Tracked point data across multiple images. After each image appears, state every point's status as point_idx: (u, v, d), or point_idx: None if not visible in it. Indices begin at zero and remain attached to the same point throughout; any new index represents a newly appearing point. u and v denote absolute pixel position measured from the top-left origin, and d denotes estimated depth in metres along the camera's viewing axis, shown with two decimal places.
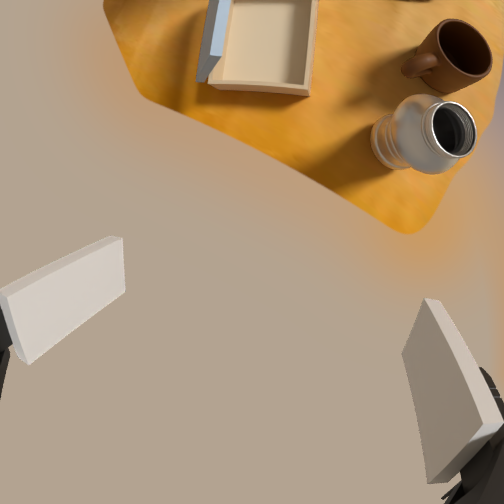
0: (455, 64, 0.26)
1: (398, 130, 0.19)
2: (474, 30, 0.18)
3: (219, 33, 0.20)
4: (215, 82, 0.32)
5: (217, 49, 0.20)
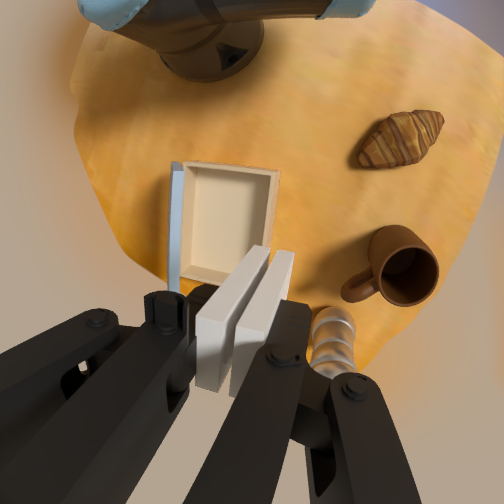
0: None
1: None
2: (428, 252, 0.28)
3: None
4: (183, 276, 0.42)
5: None
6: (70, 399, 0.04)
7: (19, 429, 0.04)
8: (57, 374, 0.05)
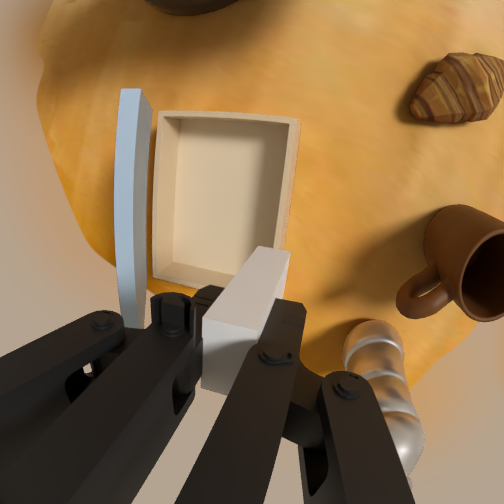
0: None
1: None
2: None
3: None
4: (161, 277, 0.29)
5: None
6: (75, 401, 0.04)
7: (22, 431, 0.04)
8: (61, 377, 0.05)
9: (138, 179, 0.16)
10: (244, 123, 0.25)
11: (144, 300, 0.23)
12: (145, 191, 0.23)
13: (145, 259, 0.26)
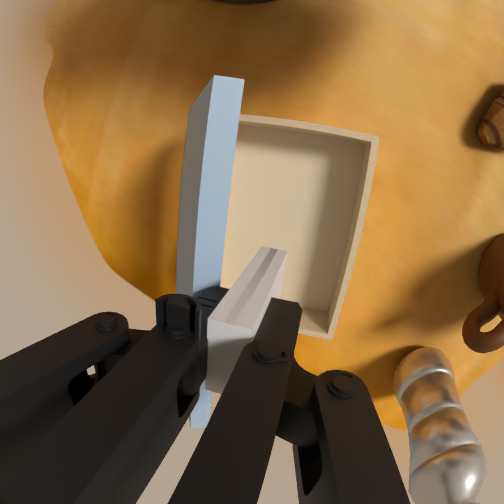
0: None
1: (415, 494, 0.13)
2: None
3: (201, 403, 0.13)
4: None
5: (201, 421, 0.14)
6: (79, 403, 0.04)
7: (25, 434, 0.04)
8: (64, 379, 0.05)
9: None
10: (307, 135, 0.22)
11: None
12: None
13: None
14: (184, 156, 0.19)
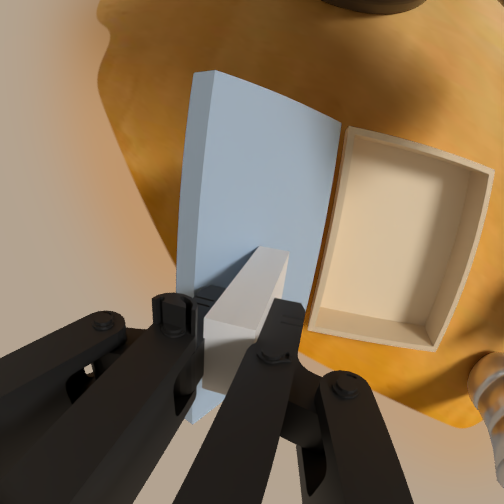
0: None
1: None
2: None
3: None
4: (319, 330, 0.24)
5: None
6: (76, 402, 0.04)
7: (23, 432, 0.04)
8: (62, 378, 0.05)
9: (249, 208, 0.12)
10: (425, 158, 0.20)
11: None
12: (312, 228, 0.18)
13: None
14: None
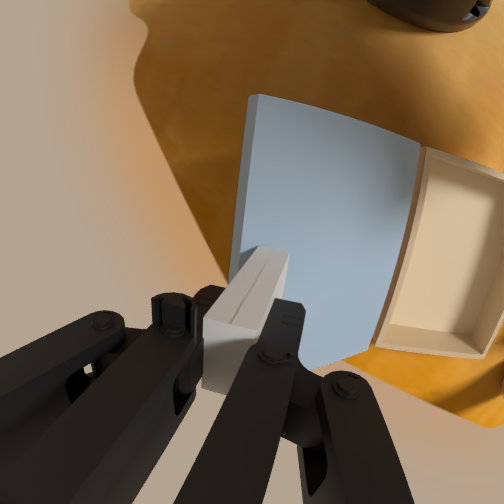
0: None
1: None
2: None
3: None
4: (385, 346, 0.22)
5: None
6: (76, 402, 0.04)
7: (23, 432, 0.04)
8: (62, 377, 0.05)
9: (300, 209, 0.14)
10: (480, 177, 0.19)
11: (318, 360, 0.19)
12: (384, 243, 0.18)
13: (363, 325, 0.20)
14: None
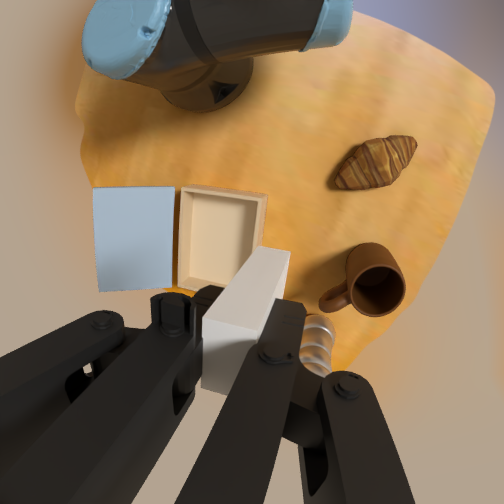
0: None
1: None
2: (394, 270, 0.33)
3: (97, 277, 0.42)
4: (183, 287, 0.47)
5: None
6: (75, 401, 0.04)
7: (22, 432, 0.04)
8: (61, 377, 0.05)
9: (112, 222, 0.39)
10: None
11: (139, 285, 0.45)
12: (159, 233, 0.43)
13: (161, 271, 0.45)
14: None
